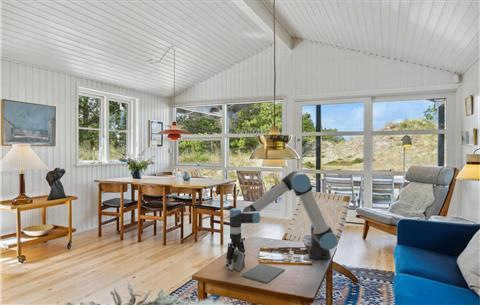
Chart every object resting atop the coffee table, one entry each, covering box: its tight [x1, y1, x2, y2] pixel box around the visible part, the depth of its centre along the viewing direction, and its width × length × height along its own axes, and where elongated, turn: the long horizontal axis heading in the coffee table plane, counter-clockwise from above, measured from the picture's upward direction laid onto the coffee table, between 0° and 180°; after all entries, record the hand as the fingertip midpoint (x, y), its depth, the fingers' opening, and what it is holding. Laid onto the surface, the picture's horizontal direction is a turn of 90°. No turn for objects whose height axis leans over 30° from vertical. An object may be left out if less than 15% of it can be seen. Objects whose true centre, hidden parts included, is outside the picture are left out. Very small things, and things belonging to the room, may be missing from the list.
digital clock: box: [225, 248, 246, 272], centre depth 211 cm, size 16×9×11 cm, turn 24°
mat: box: [240, 262, 286, 284], centre depth 200 cm, size 22×18×1 cm
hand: (236, 266), depth 211 cm, fingers open, 10 cm apart
